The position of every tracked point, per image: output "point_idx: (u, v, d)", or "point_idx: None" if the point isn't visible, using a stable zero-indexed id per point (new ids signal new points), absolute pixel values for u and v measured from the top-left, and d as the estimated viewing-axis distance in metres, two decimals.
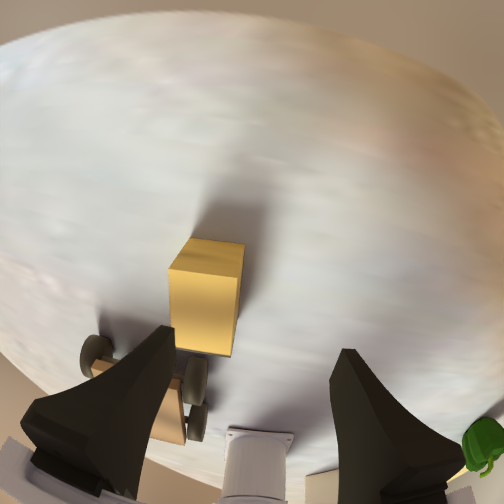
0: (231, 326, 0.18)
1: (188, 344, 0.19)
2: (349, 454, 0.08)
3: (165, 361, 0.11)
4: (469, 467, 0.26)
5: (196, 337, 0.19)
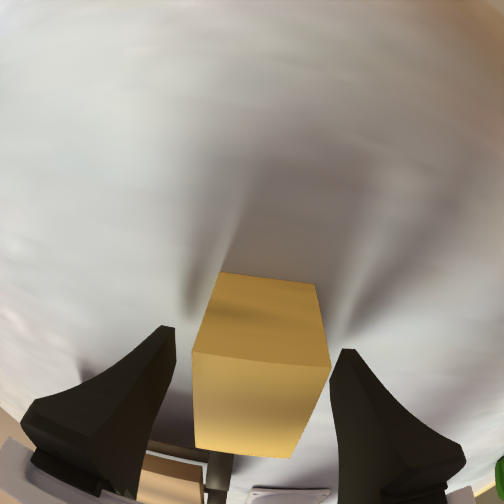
0: (301, 430, 0.09)
1: (222, 447, 0.10)
2: (349, 454, 0.08)
3: (165, 361, 0.11)
4: (502, 496, 0.17)
5: (237, 441, 0.10)
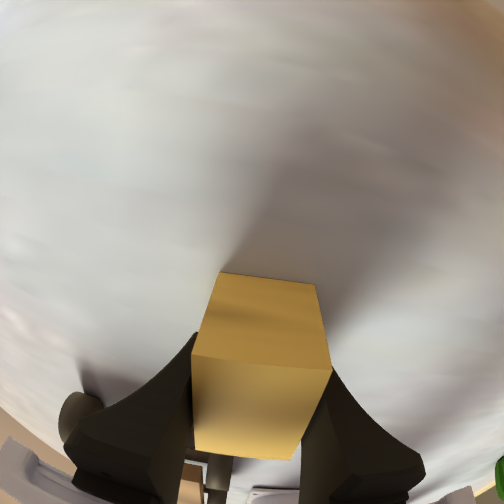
0: (301, 432, 0.09)
1: (222, 449, 0.10)
2: (308, 455, 0.08)
3: None
4: (502, 496, 0.17)
5: (237, 443, 0.10)
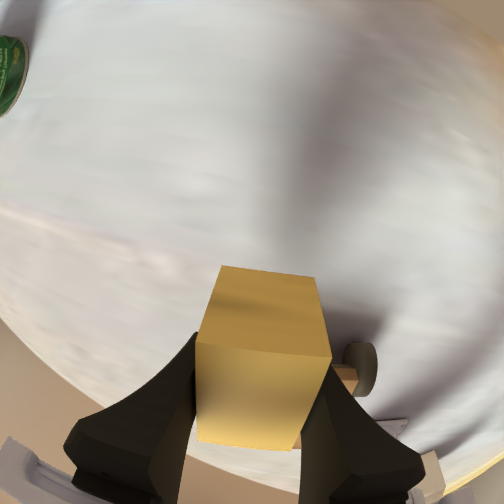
0: (302, 421, 0.10)
1: (224, 440, 0.10)
2: (309, 455, 0.08)
3: None
4: None
5: (239, 434, 0.10)
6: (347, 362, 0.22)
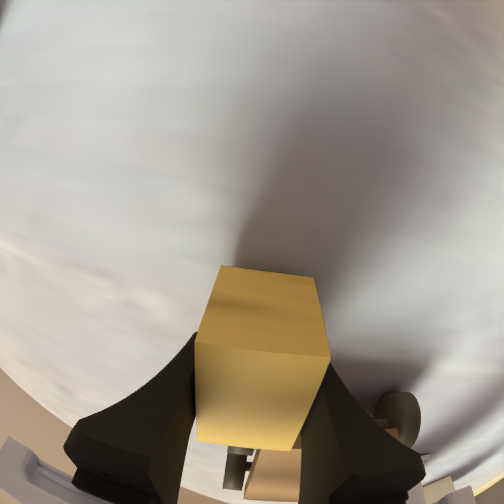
0: (301, 421, 0.10)
1: (224, 440, 0.10)
2: (308, 455, 0.08)
3: None
4: None
5: (239, 433, 0.10)
6: (382, 414, 0.16)
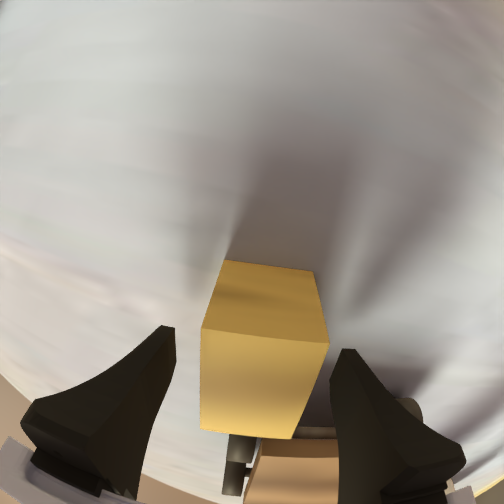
0: (302, 408, 0.10)
1: (226, 428, 0.11)
2: (349, 454, 0.08)
3: (165, 361, 0.11)
4: None
5: (241, 421, 0.11)
6: None
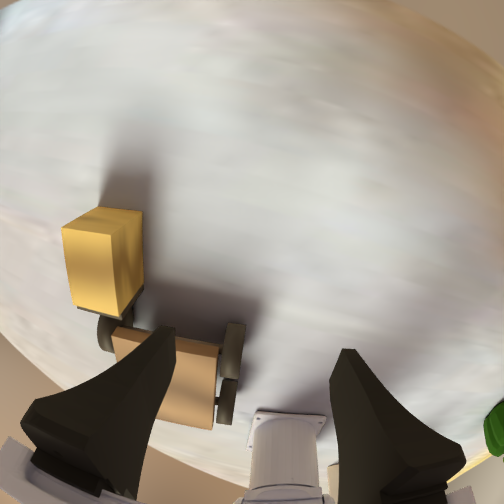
0: (113, 285, 0.18)
1: (84, 303, 0.18)
2: (349, 454, 0.08)
3: (165, 362, 0.11)
4: (492, 451, 0.24)
5: (89, 295, 0.18)
6: None
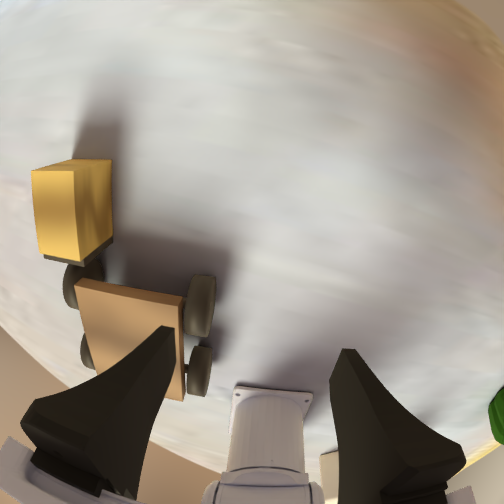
0: (75, 225, 0.16)
1: (49, 249, 0.17)
2: (349, 454, 0.08)
3: (165, 361, 0.11)
4: (499, 439, 0.23)
5: (53, 240, 0.17)
6: None
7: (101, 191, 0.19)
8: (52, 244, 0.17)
